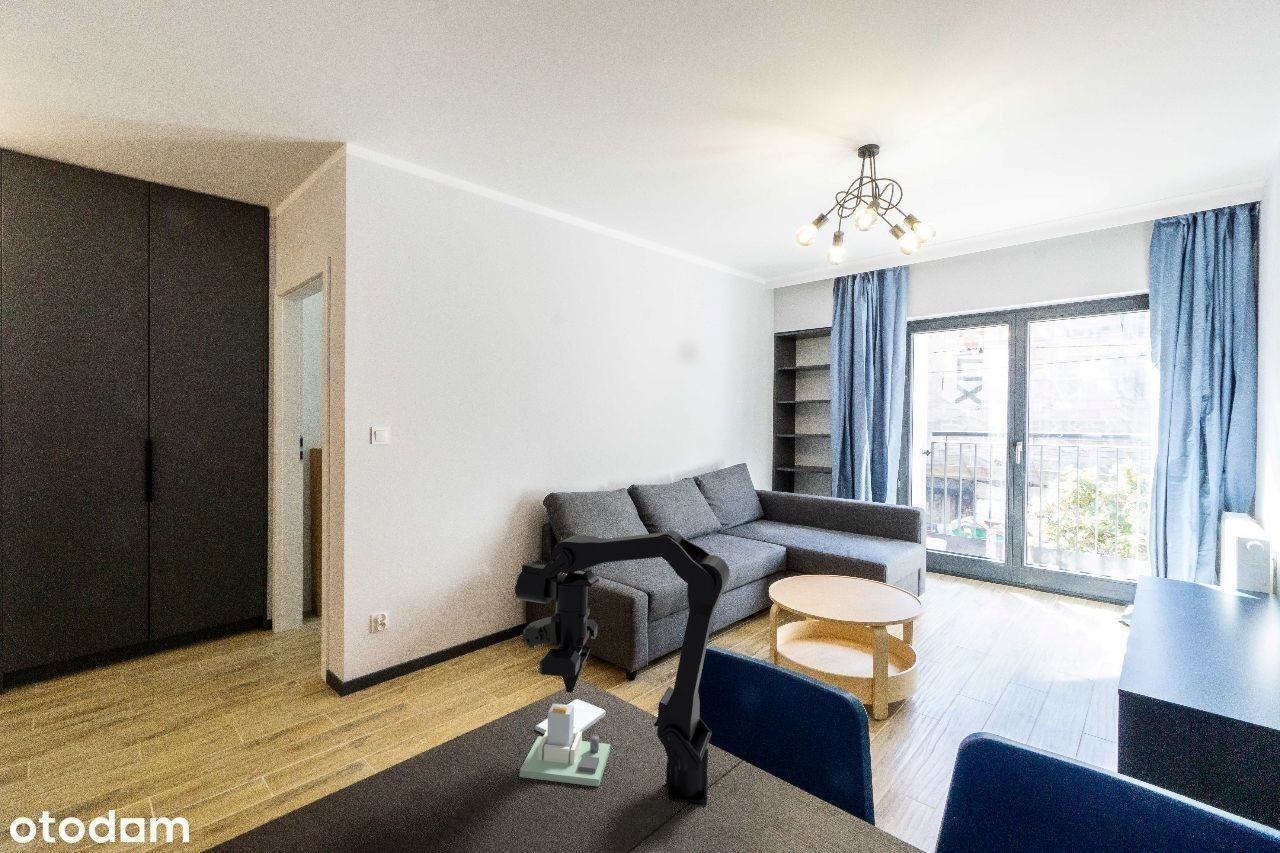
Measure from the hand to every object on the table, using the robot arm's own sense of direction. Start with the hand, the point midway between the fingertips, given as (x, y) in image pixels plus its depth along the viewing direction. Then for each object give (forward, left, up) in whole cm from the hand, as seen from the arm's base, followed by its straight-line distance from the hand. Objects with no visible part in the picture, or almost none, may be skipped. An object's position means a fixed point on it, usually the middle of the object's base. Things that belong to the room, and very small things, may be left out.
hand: (570, 691), depth 98 cm
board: (0, +1, -12) cm, 12 cm away
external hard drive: (+3, -11, -13) cm, 17 cm away
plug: (+1, 0, -11) cm, 11 cm away
